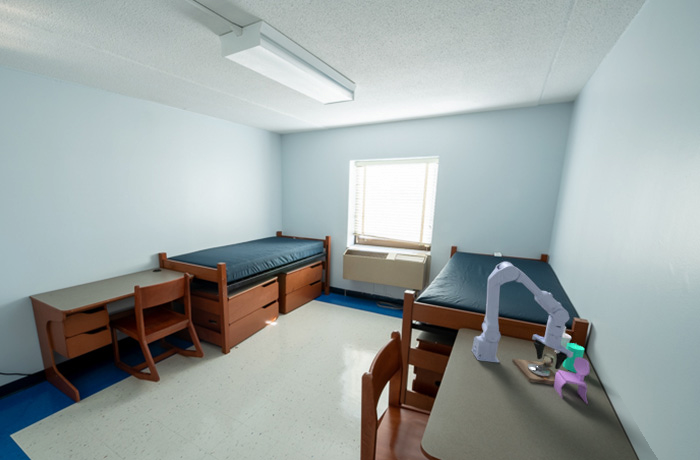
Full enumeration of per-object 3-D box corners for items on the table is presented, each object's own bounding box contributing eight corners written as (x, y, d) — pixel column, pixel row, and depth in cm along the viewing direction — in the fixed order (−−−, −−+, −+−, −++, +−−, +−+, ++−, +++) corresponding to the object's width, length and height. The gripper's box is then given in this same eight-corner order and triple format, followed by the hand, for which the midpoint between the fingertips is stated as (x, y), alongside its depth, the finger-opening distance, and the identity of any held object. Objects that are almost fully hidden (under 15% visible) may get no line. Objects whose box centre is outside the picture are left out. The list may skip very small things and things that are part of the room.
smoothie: (554, 355, 129) (560, 327, 127) (549, 348, 135) (554, 321, 133) (570, 358, 127) (576, 330, 126) (564, 351, 134) (569, 324, 132)
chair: (551, 384, 107) (558, 349, 105) (576, 390, 105) (584, 354, 103) (561, 399, 99) (569, 362, 97) (589, 406, 97) (598, 368, 95)
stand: (528, 381, 108) (529, 377, 108) (512, 361, 121) (512, 358, 121) (562, 385, 107) (563, 381, 107) (542, 365, 120) (543, 361, 120)
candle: (583, 373, 117) (589, 347, 115) (569, 372, 117) (574, 346, 115) (572, 364, 123) (577, 339, 121) (559, 363, 123) (564, 338, 121)
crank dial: (542, 378, 108) (545, 366, 107) (523, 366, 114) (525, 355, 114) (559, 372, 113) (562, 360, 112) (540, 361, 120) (542, 350, 119)
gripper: (579, 340, 109) (572, 371, 111) (541, 324, 122) (535, 352, 124) (570, 343, 106) (563, 375, 108) (531, 326, 119) (526, 354, 120)
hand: (548, 363), depth 115 cm, fingers open, 6 cm apart
